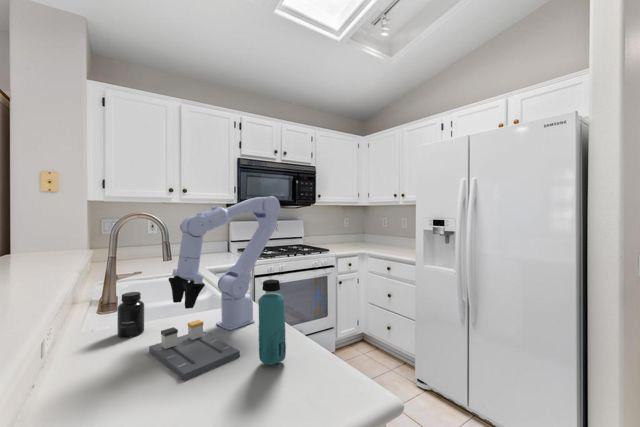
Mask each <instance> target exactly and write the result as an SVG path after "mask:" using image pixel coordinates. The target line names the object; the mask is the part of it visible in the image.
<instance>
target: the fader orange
mask: <svg viewBox="0 0 640 427" xmlns="http://www.w3.org/2000/svg"><path fill="white" fill-rule="evenodd" d="M187 330H188V331H187V332H188V333H187V334H188V338H190V339H192V340H194V339H197V338H200V337H203V331H204V321H202V320H200V319H197V320H194V321H191V322H187Z"/></svg>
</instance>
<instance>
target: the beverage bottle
mask: <svg viewBox="0 0 640 427" xmlns="http://www.w3.org/2000/svg"><path fill="white" fill-rule="evenodd" d="M280 284H281V282H280V279H266V280H264V281H263V282H262V288H261V289H262V291H263V292H267V293H263V294H262V295H261V296H260V297H259V298H258V300H257V302H258V357H259V361H260V363H263V364H266V365H276V364H280V363H282V362H283V361H284V360H285V358H286V355H287V353H286V352H287V346H286V331H287V329H286V310H285V308H286V307H285V306H286V304H285V301H286V300H285V297H284V296H283V295H282V294H281V293H278V291H279V290H281V286H280Z"/></svg>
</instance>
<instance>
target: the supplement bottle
mask: <svg viewBox="0 0 640 427" xmlns="http://www.w3.org/2000/svg"><path fill="white" fill-rule="evenodd" d="M141 298H142V296H141V292H140V291H131V292H130V291H129V292H126V293H123V294H121V300H120V301H121V303H120V304H119V305H118V306H117V321H116V322H117V326H116V327H117V328H116V329H117V336H118V337H119V338H124V339H127V338H129V339H130V338H134V337H138V336H139V335H142V333H144V331H145V303H144V301H142V300H141Z"/></svg>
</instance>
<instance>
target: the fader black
mask: <svg viewBox="0 0 640 427" xmlns="http://www.w3.org/2000/svg"><path fill="white" fill-rule="evenodd" d="M178 333H179V330H178V329H177V328H176V327H170V328H167V329H162V330H160V335H161V336H160V337H161V339H160V340H161V343H162V347H163V348H165V349H167V348H170V347H173V346H176V345H177V337H178Z"/></svg>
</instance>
